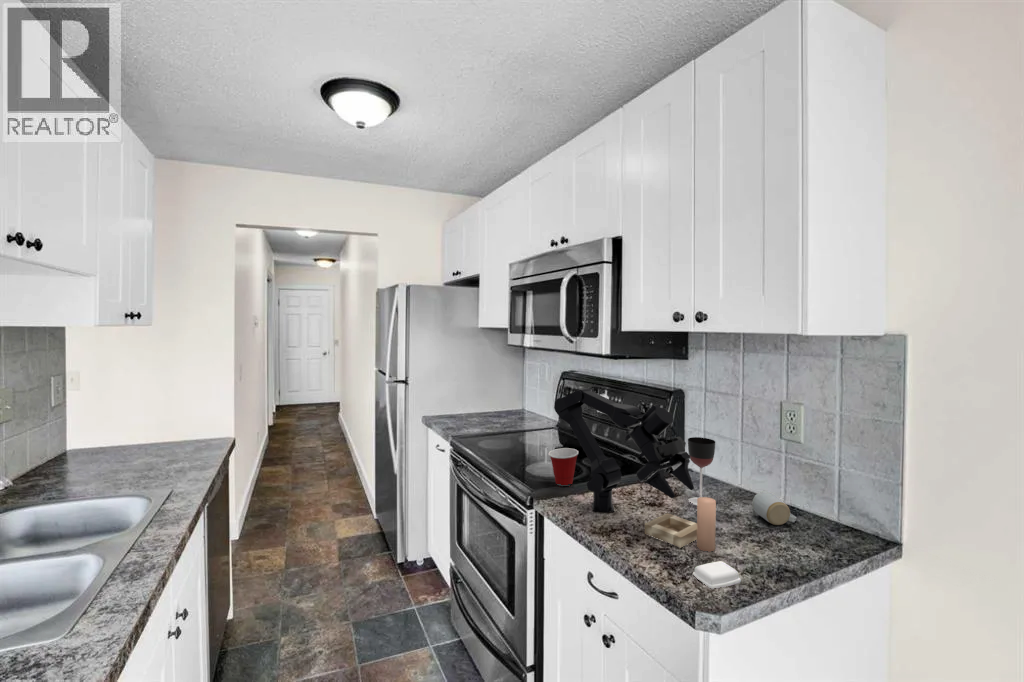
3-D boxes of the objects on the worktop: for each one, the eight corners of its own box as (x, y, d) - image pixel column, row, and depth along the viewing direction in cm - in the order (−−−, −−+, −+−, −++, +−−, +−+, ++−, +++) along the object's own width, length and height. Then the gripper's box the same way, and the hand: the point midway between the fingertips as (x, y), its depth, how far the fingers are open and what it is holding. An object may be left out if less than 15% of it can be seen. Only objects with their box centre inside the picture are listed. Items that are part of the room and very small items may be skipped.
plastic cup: (543, 481, 177) (543, 448, 177) (570, 478, 180) (570, 446, 180) (555, 491, 167) (555, 456, 166) (583, 487, 170) (583, 454, 170)
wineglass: (698, 508, 151) (699, 444, 150) (681, 498, 160) (682, 438, 159) (720, 505, 153) (721, 442, 152) (702, 495, 162) (703, 436, 161)
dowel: (694, 543, 128) (695, 496, 127) (712, 544, 127) (712, 497, 127) (699, 551, 123) (700, 503, 123) (717, 552, 123) (718, 503, 122)
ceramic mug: (767, 527, 137) (768, 500, 137) (751, 515, 146) (752, 490, 145) (803, 526, 138) (804, 500, 138) (785, 515, 146) (786, 490, 146)
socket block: (644, 534, 133) (644, 523, 133) (667, 523, 140) (667, 513, 140) (680, 548, 125) (681, 537, 125) (703, 536, 132) (703, 525, 132)
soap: (721, 569, 115) (721, 557, 115) (743, 583, 109) (743, 571, 109) (690, 576, 112) (690, 563, 112) (711, 591, 106) (711, 578, 106)
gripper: (646, 433, 127) (684, 485, 119) (684, 423, 139) (721, 470, 131) (621, 456, 134) (656, 507, 126) (660, 445, 145) (694, 491, 137)
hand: (683, 493), depth 130 cm, fingers open, 9 cm apart
